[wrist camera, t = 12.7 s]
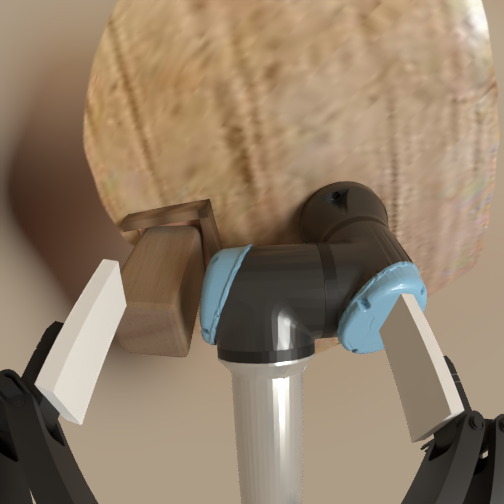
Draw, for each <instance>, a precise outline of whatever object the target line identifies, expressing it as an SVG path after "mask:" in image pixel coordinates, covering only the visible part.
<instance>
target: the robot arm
mask: <svg viewBox="0 0 504 504" xmlns="http://www.w3.org/2000/svg"><path fill="white" fill-rule="evenodd" d="M299 226H300V234H301V238H302V241H303V243H301V244H285V245H264V246H254V245H253V244H249V245H247V246H245V247H236V248H227V249H222V250H220V251H218V252H217V253H216V254H215V255H214V256H213V257H212V259H211V260H210V262H209V265H208V267H207V270H206V273H205V277H204V281H203V287H202V293H201V303H200V324H201V327H202V332H201V333H202V337H203V339H204V340H205V342H207V343H210V344H211V345H216V344H217V349H218V360H219V361H220V362H221V363H222V364H223V365H224V366H225V367H226V368H228V369H229V370H230V371H231V373H232V388H233V404H234V419H235V433H236V446H237V459H238V471H239V483H240V492H241V493H240V494H241V504H302V477H303V476H302V475H303V368H304V366H305V365H306V364H307V363H308V362H309V361H310V360H311V359H312V358H313V357H314V355H315V343H314V341H315V339H321V338H332V337H338V341H339V342H340V343H341V344H342V345H343V347H344V348H345V349H346V350H348V351H352V352H354V353H358V354H365V353H372V352H376V351H379V350H382V349H384V348H385V350H386V353H387V357H388V359H389V363H390V366H391V369H392V372H393V375H394V378H395V381H396V385H397V388H398V392H399V395H400V399H401V402H402V406H403V409H404V413H405V417H406V421H407V425H408V428H409V432H410V436H411V441H412V443H413V442H417V441H421V440H425V439H426V438H428V437H429V436H431V435H432V434H434V439H432V440H431V441H429V442H428V443H427V444H425V445H423V446H422V448H421V450H423V449H425V448H426V447H428V446H429V447H428V449H426V450H425V452H426V454H425V457H424V459H423V461H422V463H421V466H420V468H419V470H418V472H417V474H416V476H415V478H414V480H413V482H412V485H411V486H410V488H409V490H408V492H407V494H406V496H405V498H404V500H403V501H402V503H401V504H504V414H500V415H499V416H497V417H496V418H495V419H494V420H492V419H484V418H483V416H482V415H481V414H480V413H479V412H477V411H472V410H471V407H470V405H469V402H468V400H467V397H466V394H465V392H464V389H463V387H462V384H461V382H460V379H459V377H458V375H457V372H456V370H455V367H454V365H453V363H452V362H451V361H450V359H449V358H448V357H447V356H443V355H442V353H441V350H440V348H439V346H438V344H437V342H436V340H435V337H434V335H433V333H432V331H431V329H430V327H429V325H428V323H427V321H426V319H425V317H424V315H423V312H424V309H425V306H426V302H427V291H426V287H425V285H424V283H423V281H422V279H421V277H420V275H419V271H418V268H417V267H416V265H414V263H413V262H412V260H411V259H410V258H409V256H408V255H407V253H406V252H405V250H404V249H403V248H402V246H401V245H400V243H399V242H398V241H397V239H396V238H395V236H394V235H393V234H392V232H391V231H390V230H389V226H388V216H387V212H386V209H385V206H384V204H383V203H382V201H381V200H380V199H379V197H378V196H377V195H376V194H375V193H374V192H373V191H372V190H371V189H370V188H368V187H366V186H365V185H362V184H360V183H356V182H337V183H333V184H330V185H328V186H326V187H324V188H322V189H320V190H319V191H318V192H316V193H315V194H314V195H313V196H312V197H311V198H310V199H309V200H308V202H307V203H306V205H305V207H304V208H303V211H302V213H301V217H300V225H299ZM126 306H127V305H126V300H125V295H124V290H123V285H122V280H121V274H120V269H119V263H118V261H113V260H106V259H103V260H102V262H101V264H100V265H99V267H98V268H97V270H96V271H95V273H94V274H93V276H92V278H91V279H90V281H89V282H88V284H87V286H86V287H85V289H84V291H83V292H82V294H81V296H80V297H79V299H78V301H77V302H76V304H75V306H74V307H73V309H72V311H71V313H70V315H69V316H68V318H67V320H66V322H65V324H64V323H60V322H57V321H55V322H54V323H53V324H52V325H50V326H49V327H48V328H47V329H46V331H45V333H44V334H43V336H42V338H41V341H40V342H39V343H38V346H37V347H36V348H37V349H36V350H35V351H34V353H33V355H32V357H31V359H30V361H29V363H28V365H27V367H26V369H25V371H24V373H23V375H22V377H21V378H20V376H19V375H18V374H17V373H16V372H14V371H13V370H10V369H6V370H2V371H0V504H33V502H32V497H31V493H30V490H31V492H32V495H33V497H34V499H35V501H36V504H98V502H97V501H96V499H95V497H94V495H93V494H92V492H91V490H90V488H89V486H88V485H87V483H86V481H85V479H84V477H83V475H82V473H81V471H80V469H79V467H78V465H77V463H76V461H75V459H74V456H73V454H72V452H71V450H70V448H69V445H68V443H67V440H66V438H65V436H64V433H63V431H62V428H61V425H60V423H59V421H58V417H59V414H61V415H62V416H63V417H64V418H65V419H66V420H69V421H72V422H74V423H77V424H80V425H82V423H83V419H84V416H85V413H86V410H87V407H88V404H89V401H90V398H91V395H92V392H93V389H94V386H95V384H96V381H97V378H98V375H99V373H100V370H101V367H102V365H103V361H104V359H105V357H106V354H107V352H108V349H109V346H110V344H111V341H112V339H113V337H114V334H115V332H116V329H117V327H118V324H119V322H120V320H121V317H122V315H123V313H124V311H125V308H126ZM486 451H488V456H487V457H485V458H483V456H482V455H483V453H485V452H486Z"/></svg>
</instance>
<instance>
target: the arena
mask: <svg viewBox="0 0 504 504" xmlns="http://www.w3.org/2000/svg"><path fill="white" fill-rule="evenodd" d="M195 219H199V220H200V223H201V227H202V230H203V234H204V237H205V241H206V244H207V248H208V251H209V254H210V258H211V259H212V257H213V256H214V255H215V254H216V253H217V252H218V251H220V250H222V245H221V241H220V237H219V234H218V230H217V226H216V222H215V218H214V214H213V210H212V206H211V202H210V199H207V200H201V201H195V202H190V203H184V204H178V205H173V206H168V207H163V208H157V209H152V210H147V211H143V212H138V213H133V214H128V215H127V217H126V218H125V219H124V221H123V222H122V223H121V226H122V229H123V231H124V232H127V231H132V230H137V229H143V228H148V227H154V226H160V225H165V224H171V223H177V222H183V221H189V220H195Z"/></svg>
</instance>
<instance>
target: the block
mask: <svg viewBox="0 0 504 504" xmlns="http://www.w3.org/2000/svg"><path fill="white" fill-rule="evenodd" d="M205 273H206V264H205V257H204V249H203V241H202V232H201V229H200V227H199V226H197V225H182V226H154V227H148V228H146V229H145V231H144V232H143V234H142V236H141V237H140V239H139V241H138V242H137V244H136V246H135V247H134V249H133V251H132V252H131V254H130V256H129V258H128V259H127V261H126V263H125V265H124V266H123V268H122V270H121V272H120V274H121V280H122V285H123V290H124V295H125V300H126V305H127V306H126V308H125V311H124V313H123V315H122V317H121V320H120V322H119V324H118V327H117V329H116V332H115V333H116V335H117V337H118V339H119V341H120V343H121V345H122V347H123V349H124V350H126V351H128V352H130V353H139V354H149V355H160V356H170V357H186V356H187V354H188V352H189V349H190V344H191V339H192V334H193V329H194V324H195V319H196V314H197V310H198V305H199V300H200V296H201V291H202V286H203V281H204V277H205Z"/></svg>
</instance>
